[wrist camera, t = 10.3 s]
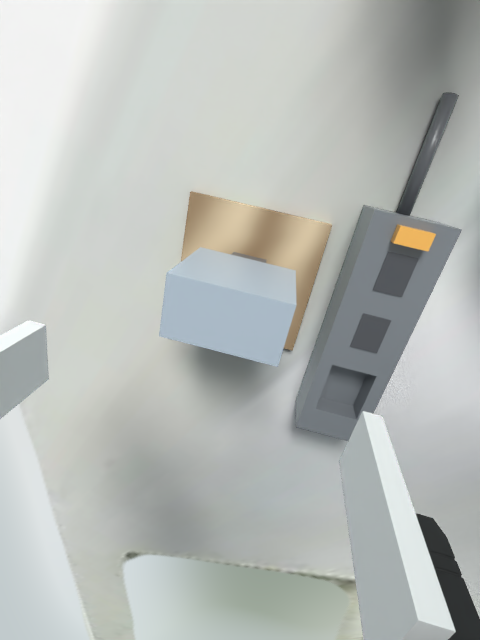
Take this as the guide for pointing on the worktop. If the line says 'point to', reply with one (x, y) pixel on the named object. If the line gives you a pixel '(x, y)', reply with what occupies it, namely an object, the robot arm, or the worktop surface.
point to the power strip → (375, 303)
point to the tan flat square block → (259, 241)
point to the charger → (230, 304)
